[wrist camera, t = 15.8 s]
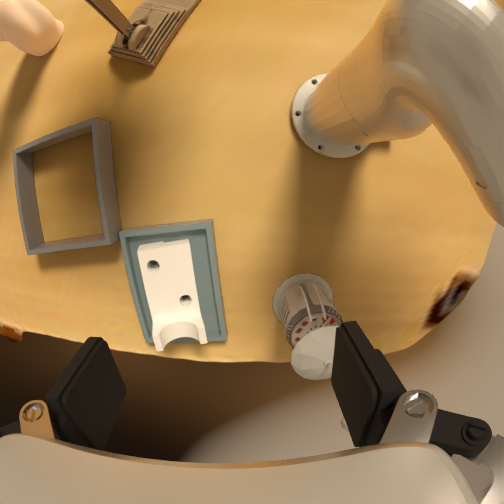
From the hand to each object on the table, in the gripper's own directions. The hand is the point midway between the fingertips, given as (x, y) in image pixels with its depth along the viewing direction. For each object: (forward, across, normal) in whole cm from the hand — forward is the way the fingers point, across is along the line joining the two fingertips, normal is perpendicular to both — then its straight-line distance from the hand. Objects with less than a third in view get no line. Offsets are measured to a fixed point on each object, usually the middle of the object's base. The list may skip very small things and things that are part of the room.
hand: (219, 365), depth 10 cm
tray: (+30, +10, +9) cm, 33 cm away
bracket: (+30, +10, +8) cm, 32 cm away
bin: (+30, +26, -8) cm, 41 cm away
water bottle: (+31, +31, -38) cm, 58 cm away
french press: (+31, -9, +13) cm, 34 cm away
